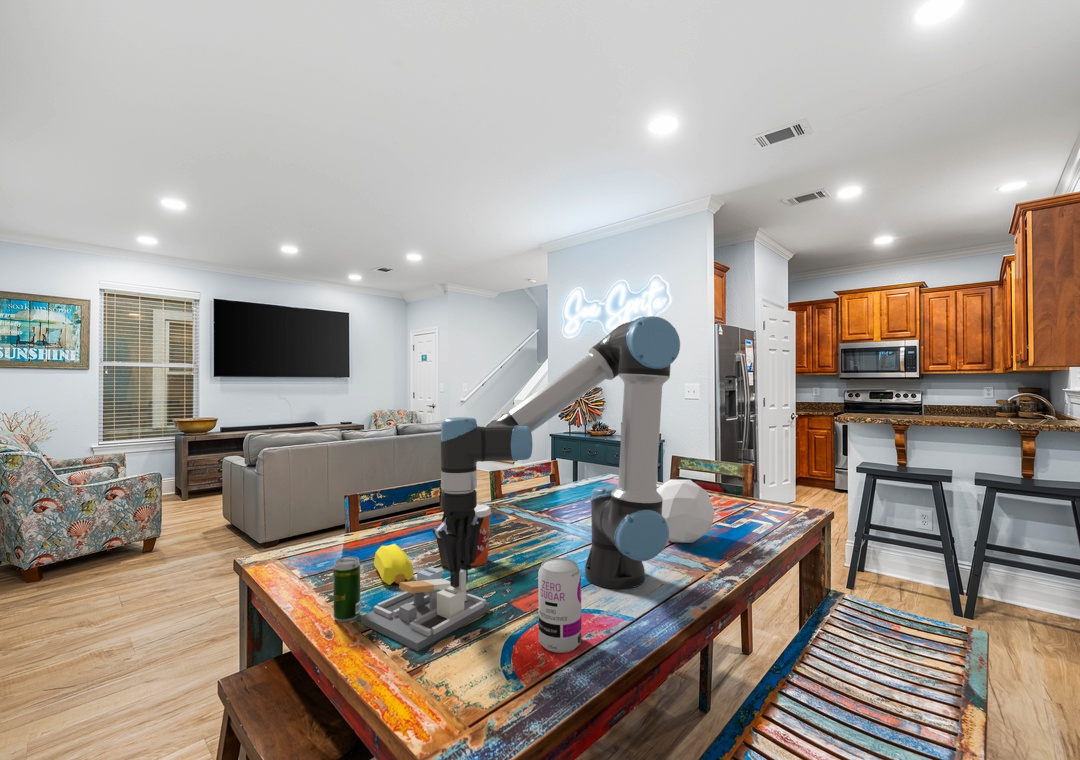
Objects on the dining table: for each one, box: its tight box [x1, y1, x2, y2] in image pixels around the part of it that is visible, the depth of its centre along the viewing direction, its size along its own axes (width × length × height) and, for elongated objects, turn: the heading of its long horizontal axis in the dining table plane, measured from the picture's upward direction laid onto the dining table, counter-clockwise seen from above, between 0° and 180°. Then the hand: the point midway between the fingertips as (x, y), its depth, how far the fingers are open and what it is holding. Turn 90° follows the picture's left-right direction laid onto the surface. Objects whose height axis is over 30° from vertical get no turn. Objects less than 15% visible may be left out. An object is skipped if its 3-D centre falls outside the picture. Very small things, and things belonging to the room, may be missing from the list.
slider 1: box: [416, 566, 443, 595], centre depth 113 cm, size 4×4×5 cm
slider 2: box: [437, 586, 464, 619], centre depth 102 cm, size 4×4×5 cm
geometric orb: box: [656, 478, 715, 544], centre depth 152 cm, size 19×20×20 cm
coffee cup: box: [470, 504, 492, 567], centre depth 135 cm, size 8×8×15 cm
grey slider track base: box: [360, 589, 491, 652], centre depth 104 cm, size 18×20×6 cm
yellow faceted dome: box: [373, 543, 415, 586], centre depth 127 cm, size 18×7×8 cm
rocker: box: [398, 578, 451, 593], centre depth 104 cm, size 4×12×2 cm, turn 144°
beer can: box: [332, 556, 362, 623], centre depth 105 cm, size 5×5×12 cm
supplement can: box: [537, 557, 582, 654], centre depth 94 cm, size 8×8×15 cm
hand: (459, 599), depth 104 cm, fingers closed
